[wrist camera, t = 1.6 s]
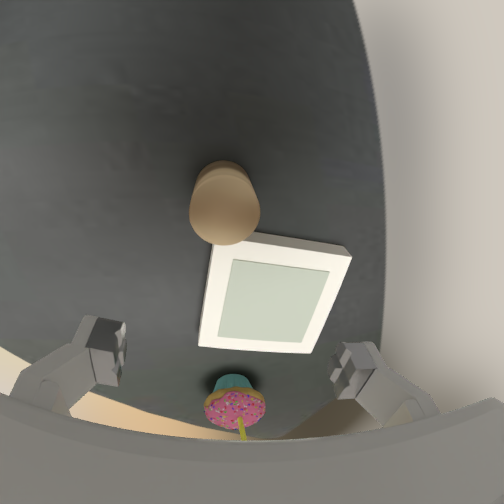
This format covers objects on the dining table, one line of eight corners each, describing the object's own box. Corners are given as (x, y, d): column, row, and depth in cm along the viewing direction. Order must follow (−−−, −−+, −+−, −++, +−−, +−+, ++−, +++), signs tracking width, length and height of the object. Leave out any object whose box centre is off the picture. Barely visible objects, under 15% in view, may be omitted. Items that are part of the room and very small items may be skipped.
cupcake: (213, 360, 39) (216, 437, 28) (271, 370, 41) (286, 442, 31) (197, 394, 42) (198, 463, 32) (249, 402, 44) (258, 467, 34)
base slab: (215, 226, 30) (215, 237, 28) (343, 246, 33) (352, 258, 30) (198, 331, 36) (198, 347, 34) (306, 339, 39) (311, 354, 36)
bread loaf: (200, 156, 27) (194, 173, 20) (255, 165, 28) (267, 185, 21) (191, 208, 29) (184, 240, 23) (244, 216, 30) (252, 249, 24)
